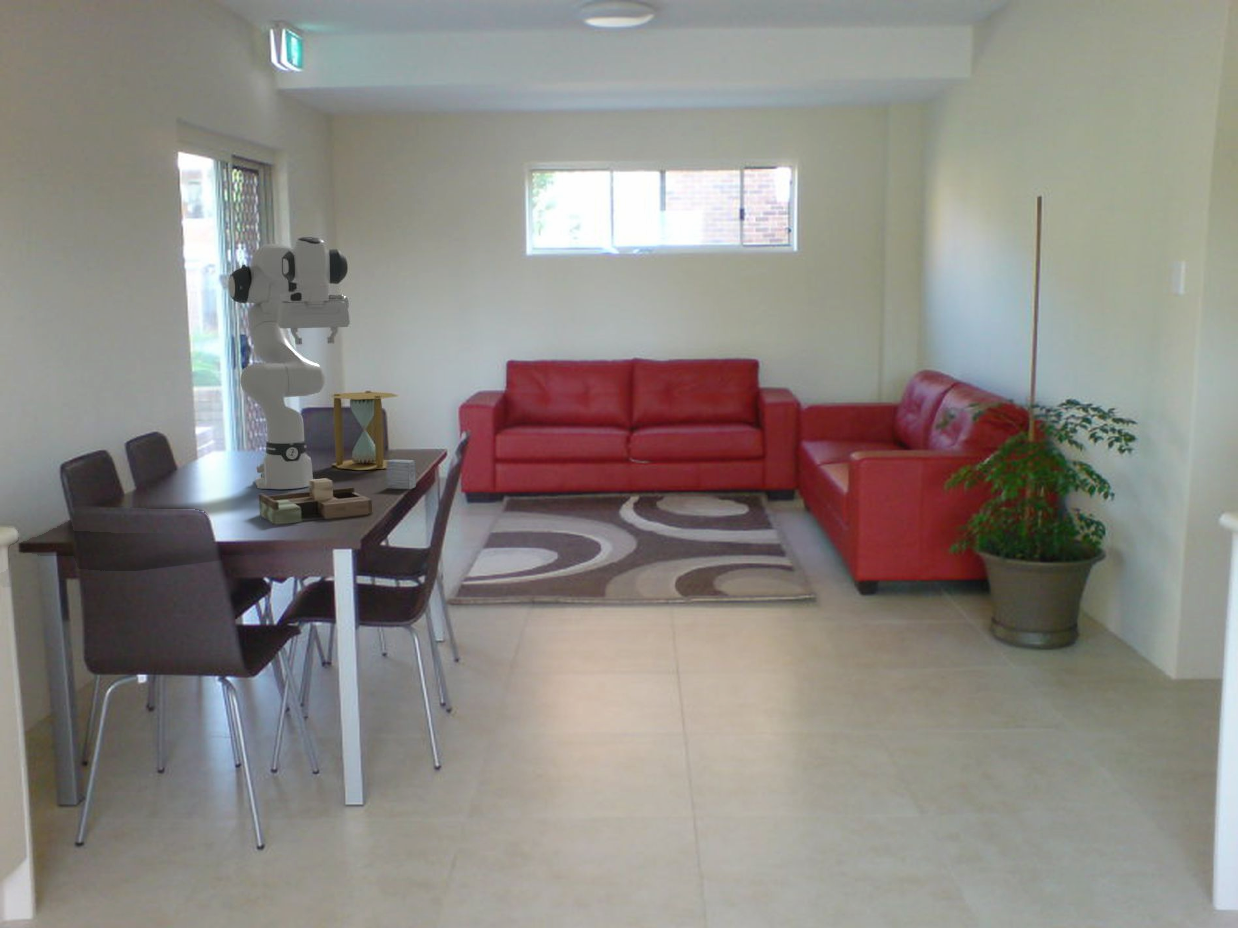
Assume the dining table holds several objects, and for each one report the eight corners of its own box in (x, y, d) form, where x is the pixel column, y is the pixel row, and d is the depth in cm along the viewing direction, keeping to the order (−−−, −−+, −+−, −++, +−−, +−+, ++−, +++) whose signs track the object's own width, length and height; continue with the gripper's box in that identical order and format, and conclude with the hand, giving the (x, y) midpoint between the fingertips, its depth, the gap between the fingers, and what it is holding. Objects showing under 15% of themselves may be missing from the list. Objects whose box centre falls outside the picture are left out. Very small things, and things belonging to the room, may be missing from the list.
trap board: (259, 514, 329) (258, 493, 328) (353, 504, 344) (352, 484, 343) (275, 524, 317) (274, 502, 316) (372, 513, 331) (371, 492, 330)
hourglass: (319, 465, 413) (317, 393, 409) (374, 458, 429) (372, 389, 424) (356, 473, 396) (354, 399, 392) (412, 465, 412) (410, 394, 408)
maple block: (309, 497, 334) (309, 479, 333) (327, 495, 336) (326, 478, 335) (315, 500, 330) (314, 482, 329) (333, 498, 332) (332, 480, 331)
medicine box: (416, 487, 371) (415, 460, 370) (409, 490, 367) (409, 462, 366) (393, 486, 373) (392, 459, 372) (386, 488, 369) (385, 461, 368)
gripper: (344, 294, 345) (346, 342, 347) (274, 295, 335) (276, 344, 337) (352, 295, 340) (353, 343, 342) (281, 295, 329) (283, 345, 331)
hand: (314, 344), depth 339 cm, fingers open, 8 cm apart
